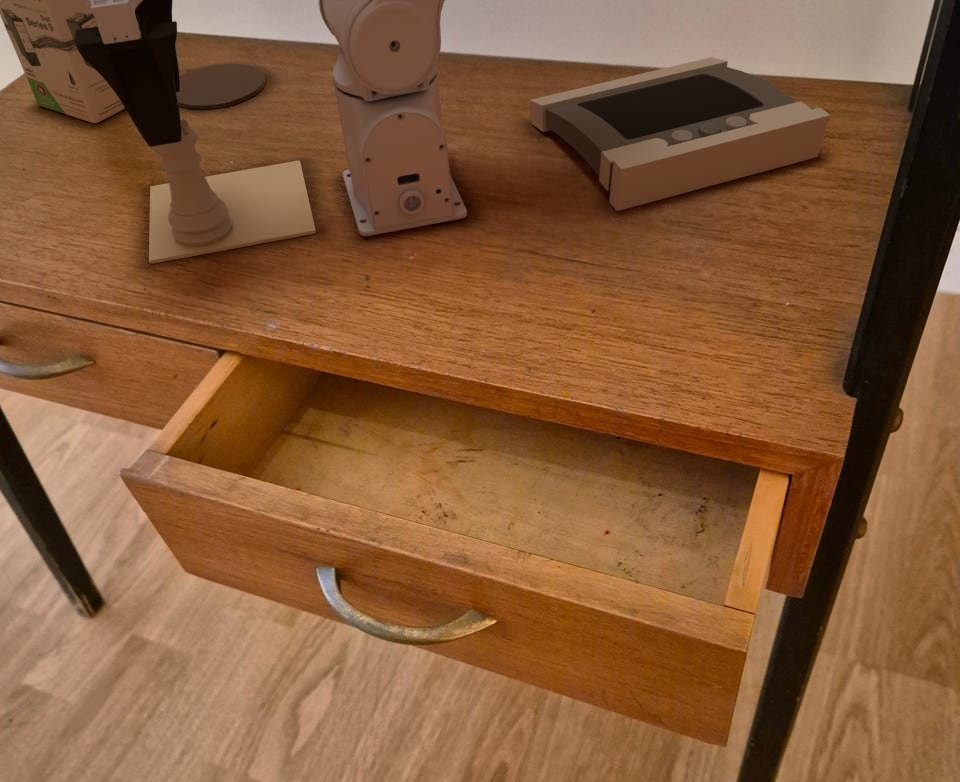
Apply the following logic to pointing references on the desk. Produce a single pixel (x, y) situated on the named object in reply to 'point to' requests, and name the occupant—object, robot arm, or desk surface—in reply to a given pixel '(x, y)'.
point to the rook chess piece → (192, 194)
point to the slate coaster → (219, 86)
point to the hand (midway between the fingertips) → (165, 116)
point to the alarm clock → (681, 129)
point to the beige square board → (240, 211)
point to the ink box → (58, 57)
